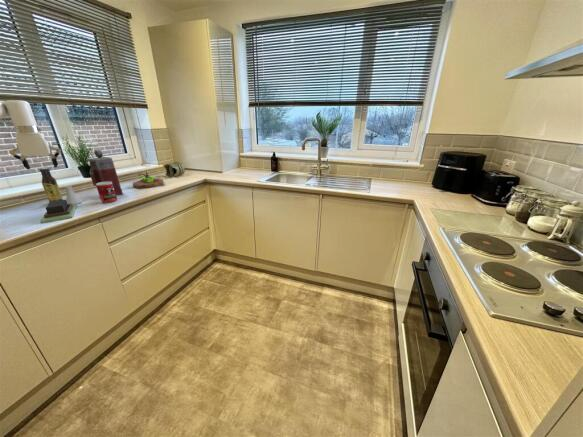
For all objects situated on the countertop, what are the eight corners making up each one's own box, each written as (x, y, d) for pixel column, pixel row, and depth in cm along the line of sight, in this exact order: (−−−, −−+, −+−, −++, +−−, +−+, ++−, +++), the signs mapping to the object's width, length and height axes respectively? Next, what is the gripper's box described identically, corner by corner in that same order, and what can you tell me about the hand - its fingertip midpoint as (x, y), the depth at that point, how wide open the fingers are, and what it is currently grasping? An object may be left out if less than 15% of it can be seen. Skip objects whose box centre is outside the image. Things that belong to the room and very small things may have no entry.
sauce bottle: (46, 203, 140) (32, 169, 132) (57, 199, 145) (44, 167, 138) (55, 203, 139) (41, 169, 131) (66, 200, 144) (53, 167, 137)
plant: (136, 190, 163) (132, 173, 159) (131, 185, 177) (127, 170, 173) (167, 184, 175) (164, 169, 171) (160, 180, 189) (157, 166, 185)
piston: (165, 177, 200) (161, 163, 196) (175, 174, 210) (172, 161, 206) (176, 178, 197) (173, 164, 192) (185, 175, 207) (183, 161, 203)
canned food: (105, 204, 136) (99, 185, 131) (99, 201, 140) (92, 183, 135) (120, 200, 142) (114, 182, 137) (113, 198, 146) (108, 180, 141)
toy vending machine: (96, 197, 150) (80, 151, 139) (115, 192, 159) (102, 148, 148) (103, 198, 145) (87, 151, 135) (123, 194, 154) (109, 149, 144)
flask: (63, 204, 137) (56, 187, 133) (77, 200, 143) (71, 184, 139) (70, 205, 134) (63, 188, 130) (85, 201, 140) (79, 185, 136)
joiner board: (41, 223, 110) (38, 218, 110) (50, 210, 127) (48, 205, 126) (72, 217, 116) (70, 212, 115) (77, 206, 133) (75, 201, 132)
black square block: (49, 216, 115) (45, 208, 113) (51, 213, 120) (48, 204, 118) (65, 214, 118) (62, 205, 116) (67, 210, 123) (64, 202, 121)
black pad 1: (51, 213, 120) (48, 204, 118) (54, 209, 124) (50, 201, 123) (67, 210, 123) (64, 202, 121) (69, 207, 128) (65, 199, 126)
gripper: (54, 129, 116) (67, 165, 123) (3, 130, 107) (19, 168, 114) (51, 130, 111) (65, 167, 117) (-4, 131, 102) (14, 171, 108)
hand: (42, 167), depth 115 cm, fingers open, 9 cm apart
